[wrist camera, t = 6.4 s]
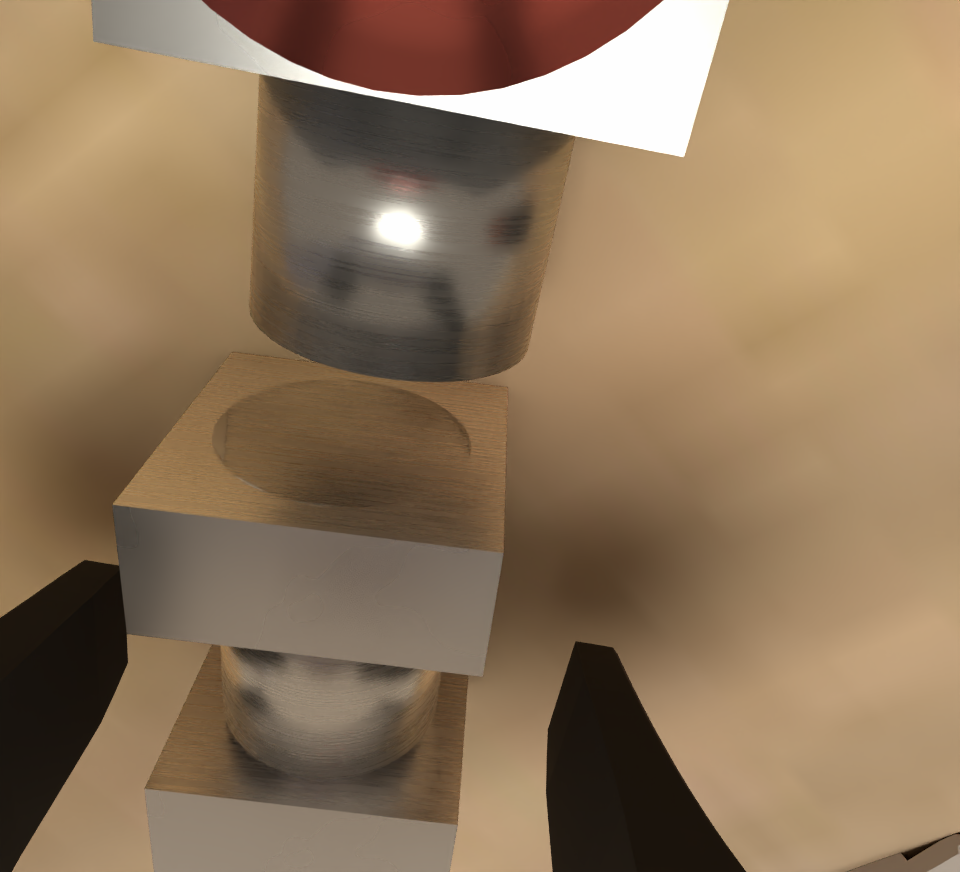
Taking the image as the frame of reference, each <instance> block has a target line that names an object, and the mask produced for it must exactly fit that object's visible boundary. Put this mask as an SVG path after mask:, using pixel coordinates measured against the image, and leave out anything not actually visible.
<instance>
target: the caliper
mask: <svg viewBox="0 0 960 872" xmlns="http://www.w3.org/2000/svg"><path fill="white" fill-rule="evenodd" d="M847 872H960V835H959V834H954V835H952V836H950V837H947V838H945V839H943V840H941V841H938V842H937V843H936V844H934V845H932V846H931V847H929V848H927V849H926V850H924V851H922V852H921V853H919V854H918V855H916V856H914V857H913V858H911V859H909V860H908V861H907V860H906V859H905V858H904V856H903V855H902V854H901V853H898V854H895V855H892V856H889V857H886V858H884V859H881V860H878V861H875V862H872V863H869V864H867V865H864V866H861V867H858V868H855V869H852V870H849V871H847Z"/></svg>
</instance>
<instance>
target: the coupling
mask: <svg viewBox="0 0 960 872" xmlns="http://www.w3.org/2000/svg"><path fill="white" fill-rule="evenodd" d="M507 402H508V387H501V386H493V385H486V384H478V383H470V382H463V381H453V382H414V381H403V380H392V379H385V378H379V377H372V376H367V375H362V374H357V373H353V372H348V371H345V370H341V369H337V368H334V367H330V366H327V365H324V364H321V363H315V362H308V361H300V360H292V359H285V358H277V357H269V356H261V355H254V354H246V353H238V352H232V353H231V354H230V355H229V357H228V358H227V359H226V361H225V362H224V363H223V364H222V366H221V367H220V368H219V369H218V371H217V372H216V373H215V375H214V376H213V377H212V378H211V380H210V381H209V382H208V383H207V385H206V386H205V387H204V389H203V390H202V391H201V392H200V394H199V395H198V396H197V397H196V399H195V400H194V401H193V403H192V404H191V405H190V406H189V408H188V409H187V410H186V411H185V413H184V414H183V415H182V417H181V418H180V419H179V420H178V422H177V423H176V424H175V425H174V427H173V428H172V429H171V431H170V432H169V433H168V434H167V436H166V437H165V438H164V439H163V441H162V442H161V443H160V445H159V446H158V447H157V448H156V450H155V451H154V452H153V453H152V455H151V456H150V457H149V459H148V460H147V461H146V462H145V464H144V465H143V466H142V467H141V469H140V470H139V471H138V473H137V474H136V475H135V476H134V478H133V479H132V480H131V482H130V483H129V484H128V485H127V487H126V488H125V489H124V490H123V492H122V493H121V494H120V496H119V497H118V498H117V499H116V501H115V502H114V503H113V504H112V507H113V516H114V525H115V533H116V542H117V551H118V560H119V569H120V577H121V586H122V595H123V604H124V613H125V621H126V630H127V634H132V635H140V636H148V637H156V638H165V639H173V640H181V641H190V642H198V643H206V644H212V645H211V647H210V649H209V652H208V654H207V656H206V658H205V660H204V662H203V664H202V667H201V669H200V671H199V673H198V675H197V677H196V680H195V682H194V684H193V686H192V688H191V690H190V692H189V695H188V697H187V699H186V701H185V703H184V705H183V707H182V710H181V712H180V714H179V716H178V718H177V720H176V722H175V725H174V727H173V729H172V731H171V733H170V735H169V737H168V740H167V742H166V744H165V746H164V748H163V750H162V752H161V755H160V757H159V759H158V761H157V763H156V765H155V767H154V770H153V772H152V774H151V776H150V778H149V780H148V782H147V785H146V787H145V797H146V806H147V815H148V824H149V832H150V841H151V850H152V859H153V868H154V872H450V867H451V861H452V855H453V849H454V844H455V838H456V832H457V826H458V813H459V799H460V785H461V771H462V758H463V744H464V730H465V716H466V702H467V688H468V675H472V676H481V677H483V672H484V666H485V661H486V655H487V649H488V643H489V637H490V631H491V625H492V619H493V613H494V607H495V601H496V596H497V590H498V584H499V578H500V572H501V566H502V560H503V554H504V520H505V481H506V441H507Z"/></svg>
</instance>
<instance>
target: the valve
mask: <svg viewBox="0 0 960 872" xmlns="http://www.w3.org/2000/svg"><path fill="white" fill-rule="evenodd" d="M728 2H729V0H92V21H93V41H94V42H99V43H104V44H109V45H114V46H120V47H125V48H130V49H135V50H140V51H145V52H150V53H155V54H160V55H165V56H171V57H176V58H181V59H186V60H191V61H196V62H201V63H206V64H211V65H217V66H222V67H227V68H232V69H237V70H242V71H247V72H252V73H257V74H259V96H258V119H257V142H256V165H255V188H254V211H253V234H252V257H251V280H250V303H249V308H250V315H251V317H252V319H253V321H254V323H255V324H256V325H257V327H258V328H259V329H260V330H261V331H262V332H263V333H264V334H265V335H267V336H268V337H269V338H270V339H272V340H273V341H275V342H276V343H278V344H279V345H281V346H282V347H284V348H286V349H288V350H290V351H292V352H294V353H296V354H298V355H301V356H303V357H305V358H308V359H310V360H312V361H315V362H318V363H321V364H324V365H327V366H330V367H334V368H337V369H341V370H345V371H348V372H353V373H357V374H362V375H367V376H372V377H379V378H385V379H392V380H403V381H414V382H453V381H463V380H472V379H477V378H482V377H487V376H490V375H494V374H497V373H500V372H502V371H505V370H507V369H509V368H511V367H513V366H514V365H516V364H517V363H519V362H520V361H521V360H522V359H523V357H524V356H525V354H526V352H527V350H528V346H529V341H530V337H531V333H532V328H533V324H534V319H535V315H536V310H537V306H538V301H539V297H540V292H541V288H542V283H543V279H544V274H545V270H546V265H547V261H548V256H549V252H550V247H551V243H552V238H553V234H554V230H555V225H556V221H557V216H558V212H559V207H560V203H561V198H562V194H563V189H564V185H565V180H566V176H567V171H568V167H569V162H570V158H571V153H572V149H573V144H574V140H575V136H579V137H584V138H589V139H594V140H599V141H605V142H610V143H615V144H620V145H625V146H630V147H635V148H640V149H645V150H650V151H656V152H661V153H666V154H671V155H676V156H681V157H684V155H685V152H686V148H687V145H688V141H689V138H690V134H691V131H692V127H693V124H694V121H695V117H696V114H697V110H698V107H699V103H700V100H701V96H702V93H703V89H704V86H705V82H706V79H707V75H708V72H709V68H710V65H711V61H712V58H713V55H714V51H715V48H716V44H717V41H718V37H719V34H720V30H721V27H722V23H723V20H724V16H725V13H726V9H727V6H728Z"/></svg>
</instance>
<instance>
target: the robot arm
mask: <svg viewBox="0 0 960 872" xmlns="http://www.w3.org/2000/svg"><path fill="white" fill-rule="evenodd" d="M127 663H128V654H127V630H126V621H125V613H124V604H123V595H122V586H121V577H120V569H119V566H118V565H112V564H106V563H100V562H94V561H88V560H84V561H83V562H81V563H80V564H78V565H77V566H75V567H74V568H72V569H71V570H69V571H68V572H66V573H65V574H63V575H62V576H60V577H59V578H57V579H56V580H54V581H53V582H52V583H50V584H49V585H47V586H46V587H44V588H43V589H41V590H40V591H39V592H37V593H36V594H34V595H33V596H31V597H30V598H29V599H27V600H26V601H24V602H23V603H21V604H20V605H18V606H17V607H15V608H14V609H13V610H11V611H10V612H8V613H7V614H5V615H4V616H2V617H1V618H0V872H12V870H13V869H14V867H15V865H16V863H17V861H18V860H19V858H20V856H21V854H22V853H23V851H24V849H25V848H26V846H27V844H28V843H29V841H30V839H31V838H32V836H33V835H34V833H35V831H36V830H37V828H38V826H39V825H40V823H41V821H42V820H43V818H44V816H45V815H46V813H47V812H48V810H49V808H50V807H51V805H52V803H53V802H54V800H55V798H56V797H57V795H58V793H59V792H60V790H61V789H62V787H63V785H64V784H65V782H66V780H67V779H68V777H69V775H70V774H71V772H72V770H73V769H74V767H75V765H76V764H77V762H78V760H79V759H80V757H81V755H82V754H83V752H84V750H85V749H86V747H87V745H88V744H89V742H90V740H91V739H92V737H93V735H94V734H95V732H96V730H97V729H98V727H99V725H100V723H101V722H102V719H103V717H104V715H105V713H106V711H107V709H108V706H109V704H110V702H111V700H112V698H113V696H114V693H115V691H116V689H117V686H118V684H119V682H120V680H121V677H122V675H123V673H124V670H125V668H126V666H127ZM546 796H547V809H548V822H549V834H550V845H551V857H552V868H553V872H746V871H745V869H744V868H743V867H742V865H741V864H740V863H739V861H738V860H737V859H736V857H735V856H734V855H733V853H732V852H731V851H730V849H729V848H728V846H727V845H726V844H725V842H724V841H723V839H722V838H721V836H720V835H719V834H718V832H717V831H716V829H715V828H714V826H713V825H712V823H711V822H710V820H709V819H708V817H707V816H706V814H705V813H704V811H703V810H702V808H701V806H700V805H699V803H698V802H697V800H696V799H695V797H694V795H693V794H692V792H691V791H690V789H689V788H688V786H687V784H686V783H685V781H684V779H683V778H682V776H681V774H680V773H679V771H678V769H677V768H676V766H675V764H674V762H673V761H672V759H671V757H670V755H669V754H668V752H667V750H666V748H665V746H664V745H663V743H662V741H661V739H660V738H659V736H658V734H657V732H656V730H655V729H654V727H653V725H652V723H651V721H650V719H649V717H648V715H647V713H646V711H645V710H644V708H643V706H642V704H641V702H640V700H639V698H638V696H637V694H636V692H635V690H634V688H633V686H632V684H631V682H630V680H629V678H628V675H627V673H626V671H625V669H624V667H623V665H622V663H621V661H620V659H619V656H618V654H617V653H616V651H615V650H614V648H613V647H607V646H601V645H595V644H589V643H583V642H577V641H576V642H575V645H574V648H573V651H572V654H571V658H570V661H569V664H568V667H567V670H566V674H565V677H564V680H563V683H562V686H561V690H560V693H559V696H558V699H557V702H556V706H555V709H554V712H553V715H552V718H551V722H550V725H549V728H548V742H547V775H546Z"/></svg>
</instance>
